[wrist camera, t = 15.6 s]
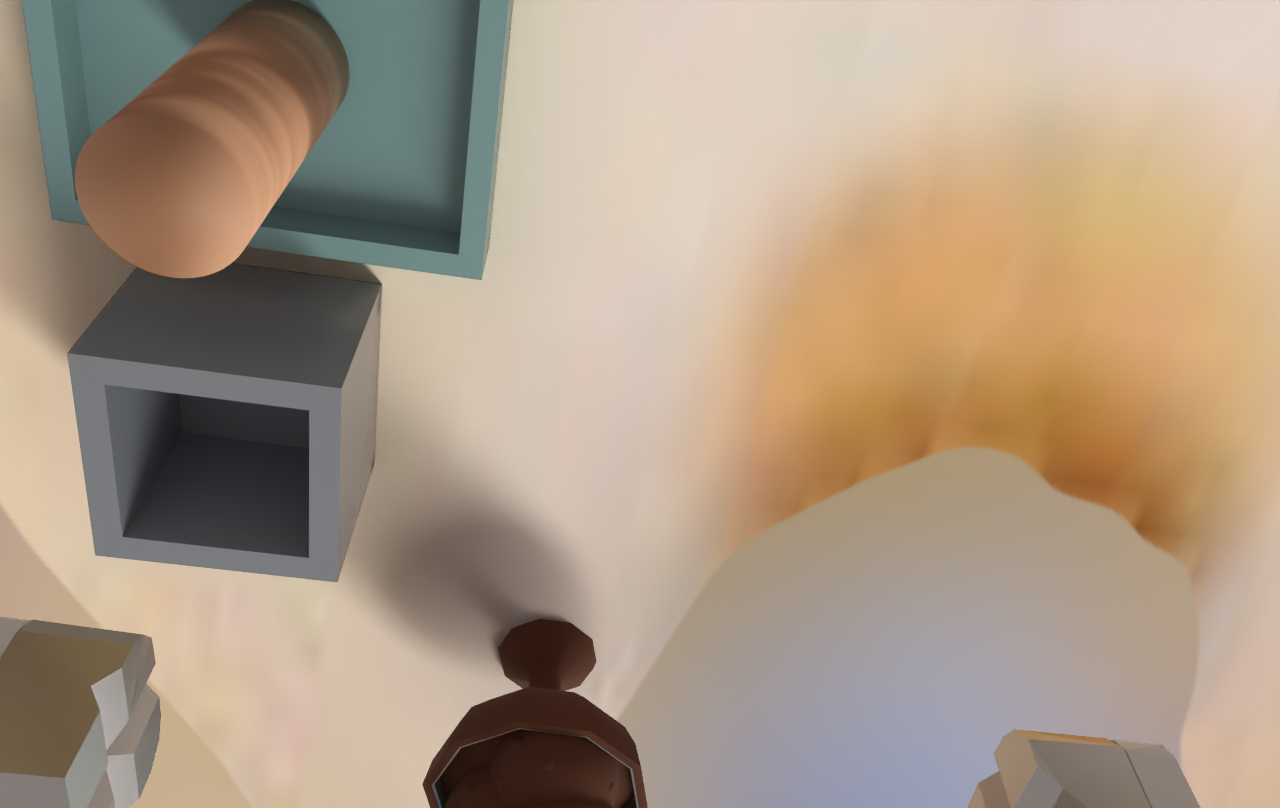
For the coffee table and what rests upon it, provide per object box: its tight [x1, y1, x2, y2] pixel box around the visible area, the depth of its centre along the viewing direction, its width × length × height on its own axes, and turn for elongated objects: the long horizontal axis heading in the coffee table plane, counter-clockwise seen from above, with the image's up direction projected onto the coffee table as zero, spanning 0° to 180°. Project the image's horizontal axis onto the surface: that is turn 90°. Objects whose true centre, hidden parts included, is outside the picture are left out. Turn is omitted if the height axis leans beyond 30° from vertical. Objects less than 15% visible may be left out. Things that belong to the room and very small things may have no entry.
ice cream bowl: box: [423, 619, 647, 808], centre depth 56 cm, size 11×11×15 cm
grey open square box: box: [67, 263, 382, 582], centre depth 48 cm, size 10×10×8 cm
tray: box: [22, 0, 513, 280], centre depth 42 cm, size 17×14×3 cm
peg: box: [75, 0, 350, 278], centre depth 37 cm, size 5×5×13 cm
